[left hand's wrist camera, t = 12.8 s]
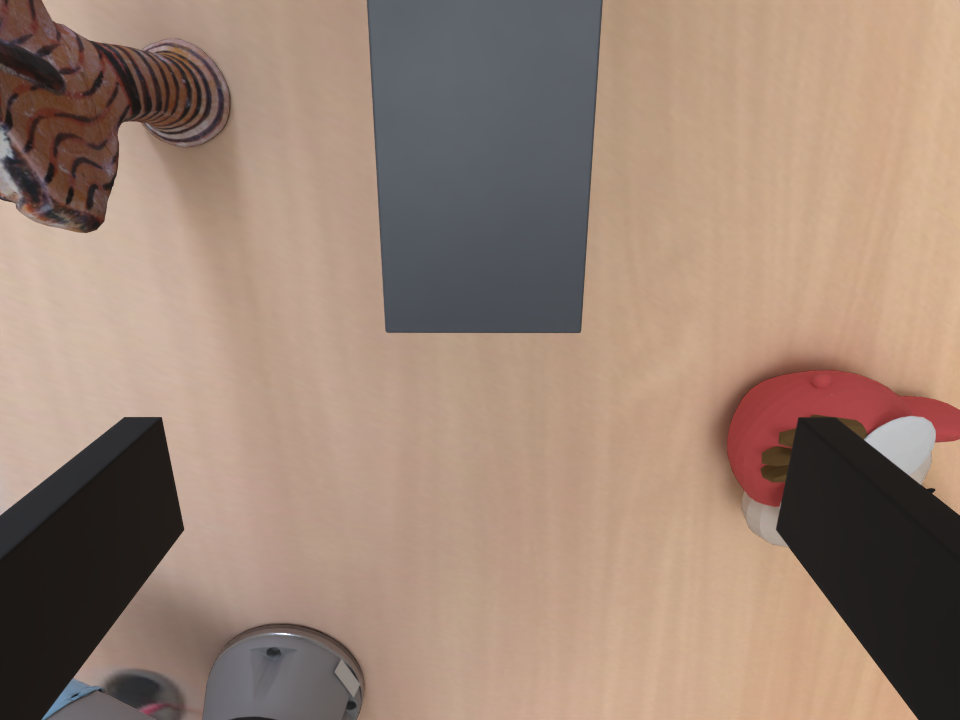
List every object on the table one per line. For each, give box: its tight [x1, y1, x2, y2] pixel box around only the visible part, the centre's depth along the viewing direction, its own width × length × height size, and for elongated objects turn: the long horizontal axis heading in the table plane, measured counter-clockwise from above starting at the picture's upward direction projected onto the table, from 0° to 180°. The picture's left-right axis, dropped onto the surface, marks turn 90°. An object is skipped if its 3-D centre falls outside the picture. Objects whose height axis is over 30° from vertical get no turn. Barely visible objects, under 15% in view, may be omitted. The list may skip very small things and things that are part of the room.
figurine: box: [0, 0, 229, 233], centre depth 28 cm, size 15×8×30 cm, turn 26°
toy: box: [727, 370, 960, 547], centre depth 50 cm, size 18×10×30 cm
